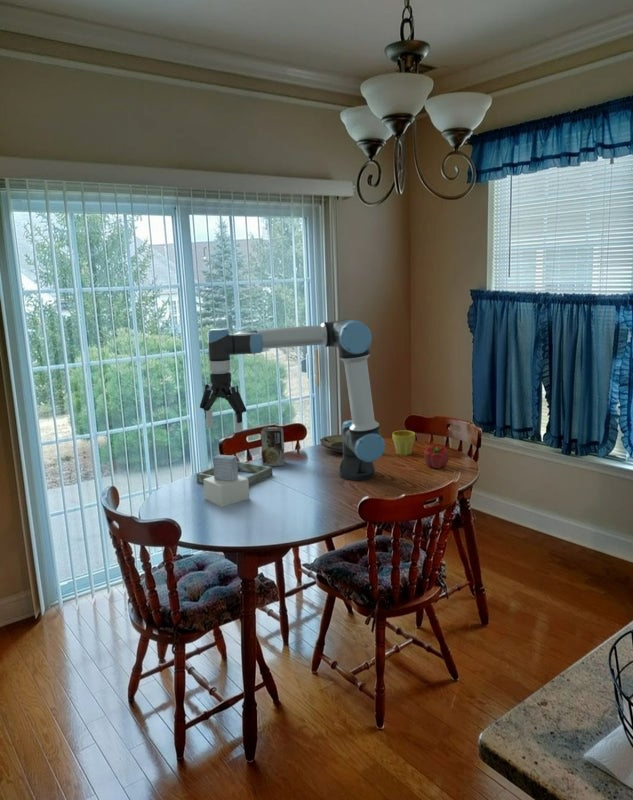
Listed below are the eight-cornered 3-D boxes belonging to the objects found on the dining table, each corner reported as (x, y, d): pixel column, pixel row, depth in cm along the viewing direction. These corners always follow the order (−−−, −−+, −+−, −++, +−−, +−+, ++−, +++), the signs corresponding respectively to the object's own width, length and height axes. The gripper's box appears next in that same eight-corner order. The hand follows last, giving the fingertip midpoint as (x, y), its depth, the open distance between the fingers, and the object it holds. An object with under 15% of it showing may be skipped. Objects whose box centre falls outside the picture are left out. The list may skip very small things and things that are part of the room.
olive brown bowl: (344, 441, 302) (343, 426, 301) (388, 453, 280) (388, 437, 278) (310, 450, 288) (309, 435, 286) (354, 463, 265) (353, 446, 264)
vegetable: (449, 471, 250) (449, 448, 248) (424, 471, 252) (424, 448, 250) (448, 464, 261) (448, 441, 259) (423, 463, 263) (423, 441, 261)
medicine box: (238, 478, 225) (237, 455, 224) (232, 481, 221) (231, 459, 220) (219, 476, 228) (218, 454, 226) (213, 480, 224) (212, 457, 222)
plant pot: (409, 457, 271) (409, 436, 269) (388, 454, 277) (388, 434, 275) (418, 452, 280) (418, 431, 278) (398, 449, 285) (398, 429, 284)
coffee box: (285, 461, 271) (283, 426, 268) (282, 466, 265) (281, 430, 261) (265, 461, 272) (263, 426, 269) (262, 466, 265) (260, 430, 262)
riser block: (249, 499, 226) (248, 478, 224) (222, 507, 218) (220, 486, 217) (231, 491, 235) (230, 471, 233) (204, 499, 227) (203, 479, 226)
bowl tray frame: (272, 475, 252) (272, 467, 252) (239, 490, 235) (239, 482, 234) (231, 467, 264) (231, 460, 264) (197, 481, 247) (196, 473, 246)
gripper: (254, 372, 213) (257, 430, 218) (201, 368, 227) (205, 423, 231) (240, 375, 207) (243, 435, 211) (187, 371, 221) (191, 428, 225)
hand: (223, 429), depth 221 cm, fingers open, 13 cm apart
